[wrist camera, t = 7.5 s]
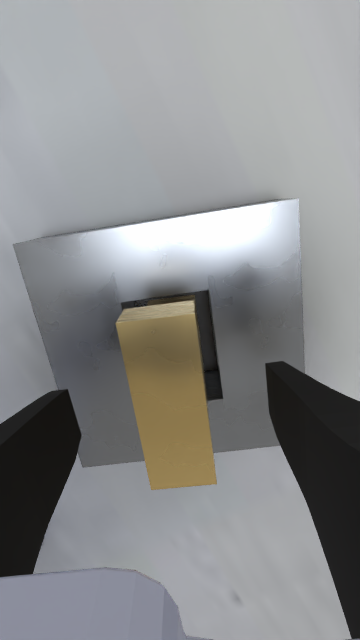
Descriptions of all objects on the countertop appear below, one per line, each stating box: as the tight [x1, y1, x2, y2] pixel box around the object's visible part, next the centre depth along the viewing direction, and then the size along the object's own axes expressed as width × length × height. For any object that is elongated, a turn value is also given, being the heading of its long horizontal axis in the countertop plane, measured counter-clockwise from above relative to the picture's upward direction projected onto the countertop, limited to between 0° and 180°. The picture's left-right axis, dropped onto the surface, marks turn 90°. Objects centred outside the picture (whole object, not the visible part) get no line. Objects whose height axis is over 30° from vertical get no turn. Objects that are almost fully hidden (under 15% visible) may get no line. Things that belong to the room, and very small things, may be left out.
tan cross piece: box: [116, 295, 217, 490], centre depth 15 cm, size 2×7×8 cm, turn 8°
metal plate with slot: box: [13, 198, 305, 467], centre depth 17 cm, size 12×12×3 cm
